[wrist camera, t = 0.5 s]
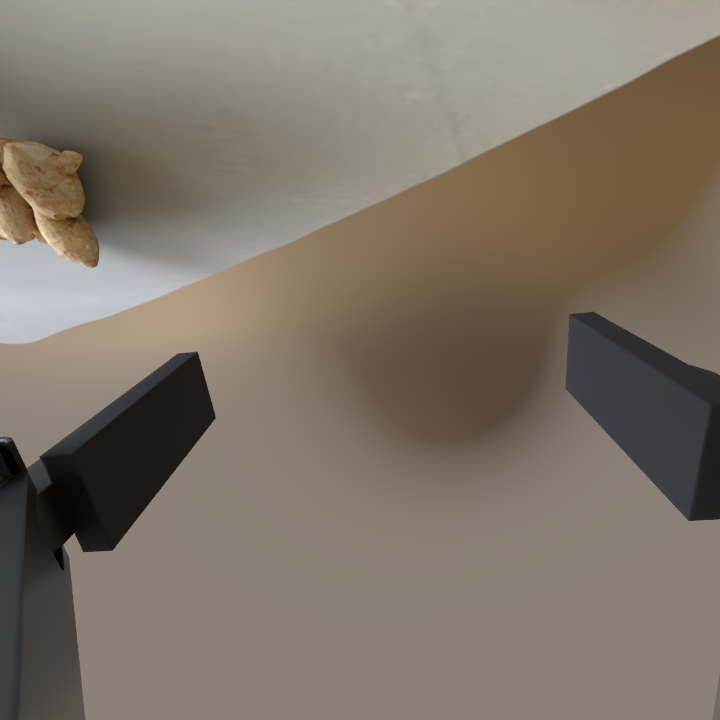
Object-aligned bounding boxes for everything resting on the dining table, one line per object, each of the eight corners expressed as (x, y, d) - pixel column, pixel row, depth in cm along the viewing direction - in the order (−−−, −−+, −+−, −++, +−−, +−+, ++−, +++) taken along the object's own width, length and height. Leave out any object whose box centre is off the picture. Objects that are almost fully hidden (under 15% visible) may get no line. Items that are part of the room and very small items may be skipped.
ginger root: (138, 174, 43) (104, 232, 39) (111, 248, 55) (83, 298, 51) (-57, 61, 35) (-120, 121, 32) (-40, 175, 47) (-85, 229, 43)
